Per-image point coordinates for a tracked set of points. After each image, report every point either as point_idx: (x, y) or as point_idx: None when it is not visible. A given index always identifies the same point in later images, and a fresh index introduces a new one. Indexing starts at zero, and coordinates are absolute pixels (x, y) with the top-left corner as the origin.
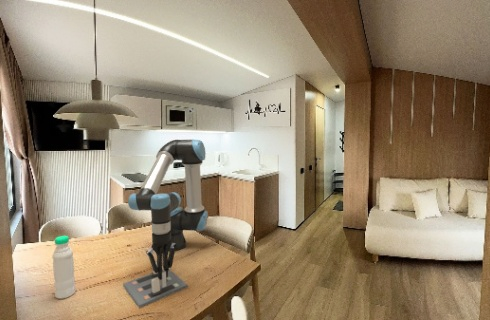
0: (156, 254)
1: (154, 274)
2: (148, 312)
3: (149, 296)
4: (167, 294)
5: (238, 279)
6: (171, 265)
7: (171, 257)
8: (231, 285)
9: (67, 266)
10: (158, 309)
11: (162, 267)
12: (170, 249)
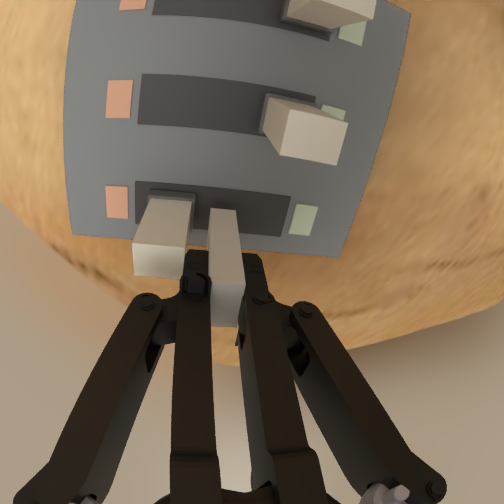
0: (170, 463)
1: (285, 18)
2: (103, 273)
3: (133, 203)
4: None
5: (436, 323)
6: (299, 352)
7: (319, 420)
8: (403, 333)
9: None
10: (142, 285)
11: (323, 129)
12: (373, 465)
